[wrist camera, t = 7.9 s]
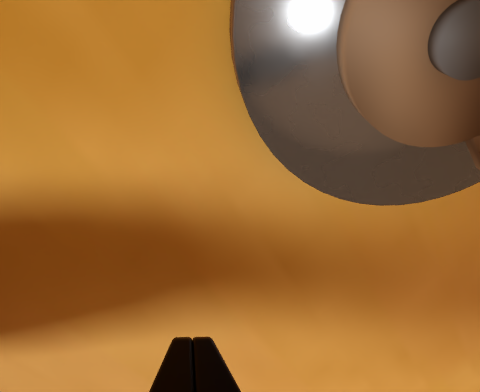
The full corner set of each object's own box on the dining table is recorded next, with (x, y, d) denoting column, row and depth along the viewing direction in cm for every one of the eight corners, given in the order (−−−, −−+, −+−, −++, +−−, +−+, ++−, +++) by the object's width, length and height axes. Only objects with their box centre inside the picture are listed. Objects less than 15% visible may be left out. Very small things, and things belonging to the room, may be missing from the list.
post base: (212, 183, 21) (220, 244, 16) (261, -314, 12) (305, -454, 8) (504, 196, 24) (575, 251, 19) (713, -198, 15) (924, -256, 11)
